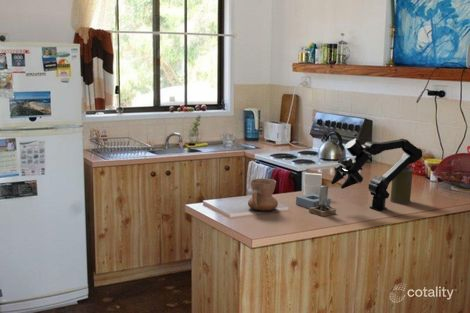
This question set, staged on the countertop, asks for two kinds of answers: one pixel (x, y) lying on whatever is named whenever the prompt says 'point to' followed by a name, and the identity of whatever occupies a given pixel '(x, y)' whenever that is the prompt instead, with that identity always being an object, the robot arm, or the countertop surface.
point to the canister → (402, 187)
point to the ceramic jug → (263, 194)
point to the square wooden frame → (322, 213)
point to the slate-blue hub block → (309, 200)
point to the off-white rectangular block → (312, 183)
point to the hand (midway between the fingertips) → (336, 185)
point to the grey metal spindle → (323, 198)
